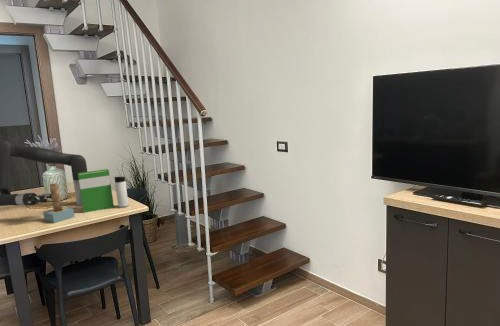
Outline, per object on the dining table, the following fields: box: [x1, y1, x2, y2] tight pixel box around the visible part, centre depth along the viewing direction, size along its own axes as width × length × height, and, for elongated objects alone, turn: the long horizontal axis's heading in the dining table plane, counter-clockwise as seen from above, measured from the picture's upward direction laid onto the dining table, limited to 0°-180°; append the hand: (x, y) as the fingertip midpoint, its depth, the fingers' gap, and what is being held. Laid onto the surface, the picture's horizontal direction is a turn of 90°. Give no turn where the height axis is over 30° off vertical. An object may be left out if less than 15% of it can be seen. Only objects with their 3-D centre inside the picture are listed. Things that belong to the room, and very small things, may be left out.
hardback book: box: [78, 168, 115, 214], centre depth 235 cm, size 18×7×24 cm, turn 116°
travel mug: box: [114, 176, 130, 209], centre depth 236 cm, size 6×7×20 cm
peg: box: [49, 183, 63, 212], centre depth 220 cm, size 4×4×20 cm
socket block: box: [43, 205, 75, 224], centre depth 221 cm, size 12×12×5 cm
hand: (51, 198), depth 220 cm, fingers open, 8 cm apart
